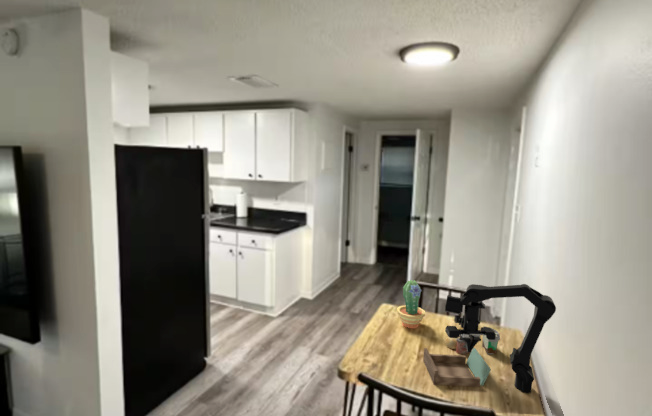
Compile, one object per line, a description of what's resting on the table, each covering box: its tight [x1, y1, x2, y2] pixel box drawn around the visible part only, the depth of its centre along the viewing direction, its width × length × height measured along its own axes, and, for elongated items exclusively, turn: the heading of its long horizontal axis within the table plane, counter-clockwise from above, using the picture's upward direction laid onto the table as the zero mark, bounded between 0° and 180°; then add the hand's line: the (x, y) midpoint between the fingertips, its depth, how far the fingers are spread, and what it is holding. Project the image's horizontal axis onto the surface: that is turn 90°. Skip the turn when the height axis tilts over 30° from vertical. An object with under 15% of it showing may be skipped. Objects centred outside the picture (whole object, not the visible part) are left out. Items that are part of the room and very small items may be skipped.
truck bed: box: [423, 347, 481, 388], centre depth 150 cm, size 18×17×7 cm
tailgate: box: [465, 347, 492, 386], centre depth 150 cm, size 1×16×8 cm, turn 179°
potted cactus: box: [396, 279, 426, 329], centre depth 196 cm, size 15×15×25 cm
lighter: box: [455, 335, 472, 355], centre depth 167 cm, size 8×3×10 cm, turn 105°
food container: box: [481, 325, 501, 355], centre depth 170 cm, size 12×6×10 cm, turn 168°
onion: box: [444, 335, 460, 351], centre depth 173 cm, size 8×8×7 cm
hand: (468, 352), depth 149 cm, fingers closed
